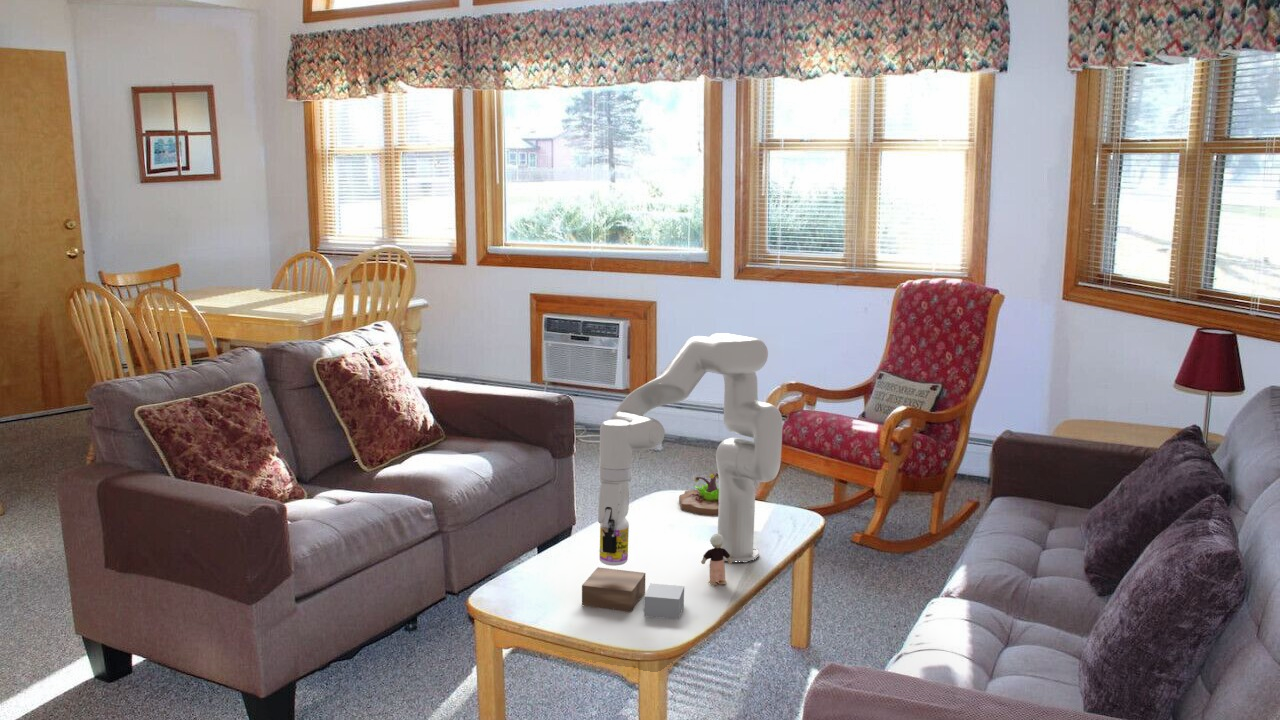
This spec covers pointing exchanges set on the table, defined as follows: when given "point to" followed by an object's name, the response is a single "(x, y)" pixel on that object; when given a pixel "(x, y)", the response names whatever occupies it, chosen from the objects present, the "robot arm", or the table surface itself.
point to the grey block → (664, 601)
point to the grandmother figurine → (717, 560)
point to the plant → (702, 497)
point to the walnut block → (613, 589)
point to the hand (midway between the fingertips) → (614, 546)
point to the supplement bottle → (622, 544)
